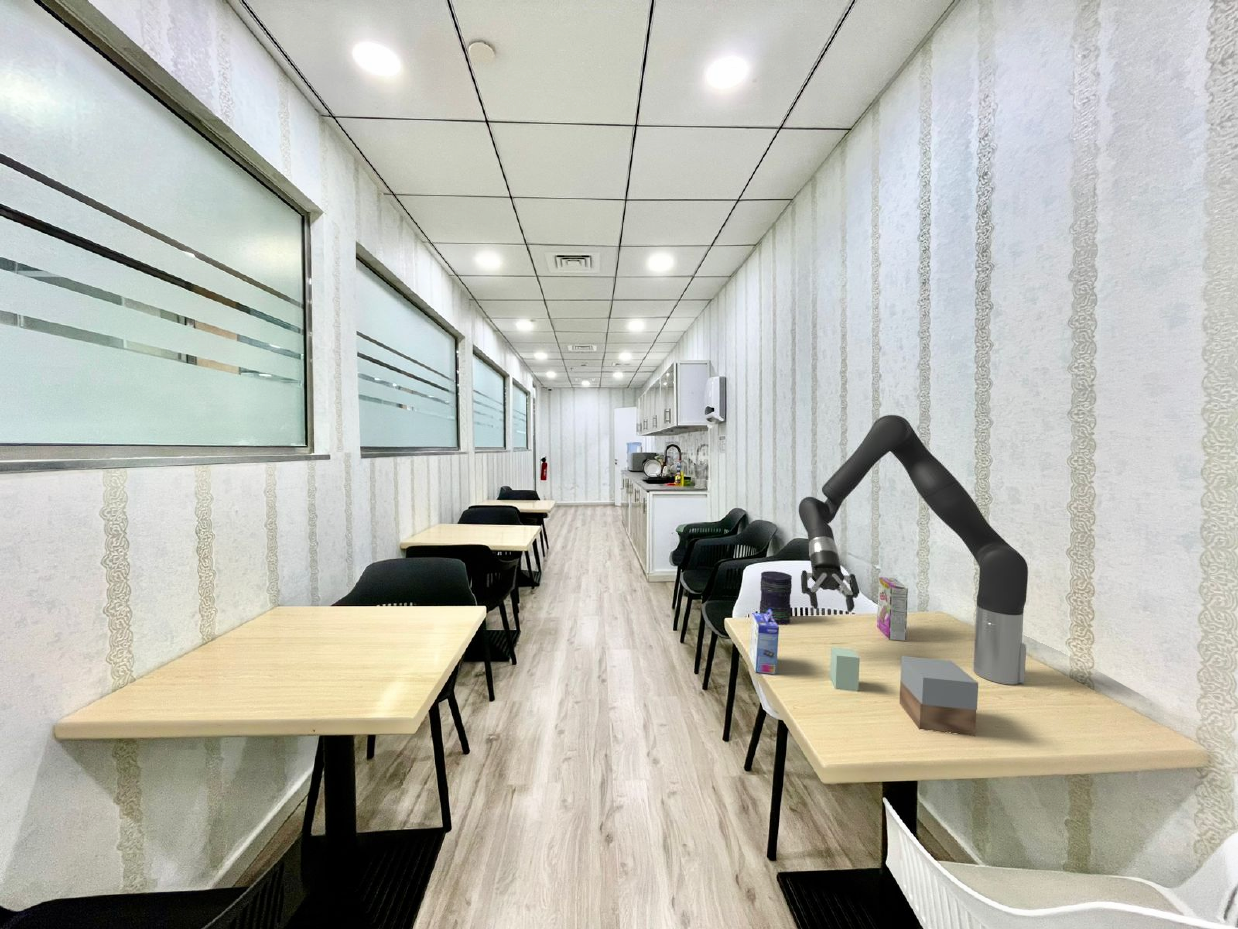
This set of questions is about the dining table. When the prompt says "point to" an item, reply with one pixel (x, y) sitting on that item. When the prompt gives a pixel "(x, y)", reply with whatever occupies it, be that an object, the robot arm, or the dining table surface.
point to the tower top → (939, 683)
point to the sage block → (844, 669)
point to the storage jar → (776, 595)
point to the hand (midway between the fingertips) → (833, 609)
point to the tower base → (937, 715)
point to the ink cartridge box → (764, 643)
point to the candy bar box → (892, 608)
